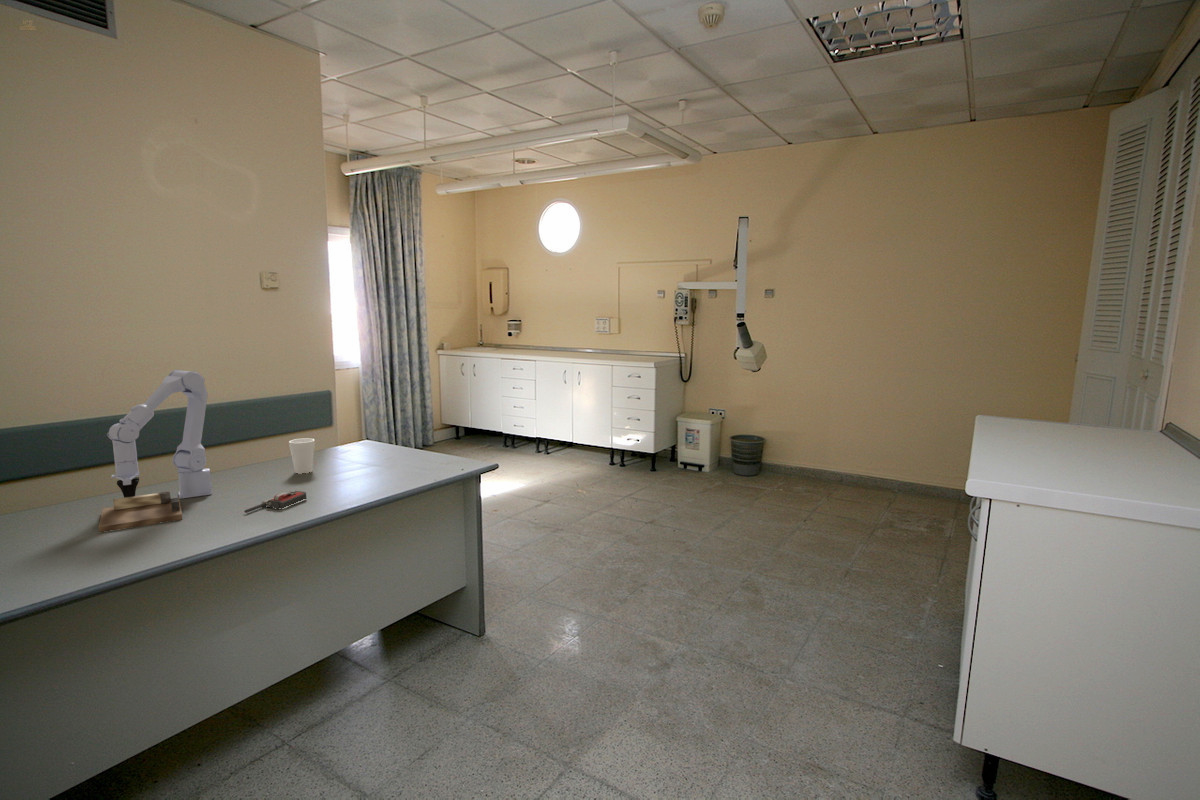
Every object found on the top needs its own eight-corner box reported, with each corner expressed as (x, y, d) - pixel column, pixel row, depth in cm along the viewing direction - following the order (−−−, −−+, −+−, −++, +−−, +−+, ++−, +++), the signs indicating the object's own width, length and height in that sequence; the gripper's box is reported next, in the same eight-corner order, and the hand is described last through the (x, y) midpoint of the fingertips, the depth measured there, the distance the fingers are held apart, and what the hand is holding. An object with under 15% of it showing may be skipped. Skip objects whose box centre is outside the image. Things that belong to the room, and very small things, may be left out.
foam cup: (309, 475, 236) (307, 443, 234) (286, 474, 236) (284, 443, 234) (320, 469, 246) (319, 438, 244) (298, 468, 246) (296, 437, 244)
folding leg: (170, 499, 197) (169, 491, 197) (171, 502, 195) (170, 493, 194) (114, 507, 188) (113, 498, 188) (113, 510, 186) (112, 501, 186)
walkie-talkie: (290, 497, 210) (242, 515, 191) (289, 485, 209) (241, 502, 190) (310, 499, 208) (264, 518, 189) (310, 487, 207) (263, 505, 188)
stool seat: (179, 502, 201) (178, 488, 200) (182, 519, 185) (181, 504, 184) (103, 513, 189) (101, 499, 188) (99, 532, 173) (97, 517, 172)
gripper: (111, 457, 193) (115, 497, 195) (108, 467, 181) (113, 509, 183) (138, 454, 197) (142, 493, 199) (137, 463, 186) (141, 505, 188)
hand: (130, 501), depth 192 cm, fingers closed
